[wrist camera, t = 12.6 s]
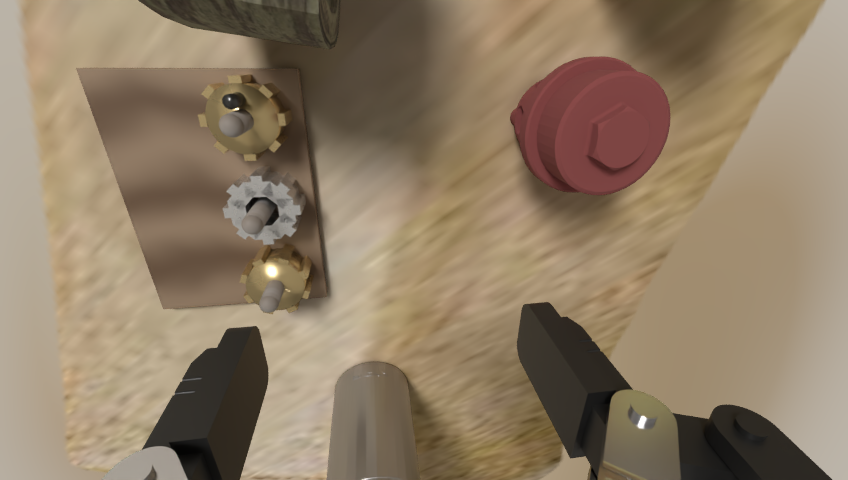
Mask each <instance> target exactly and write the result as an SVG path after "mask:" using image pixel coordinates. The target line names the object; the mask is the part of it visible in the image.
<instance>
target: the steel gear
mask: <svg viewBox="0 0 848 480" xmlns="http://www.w3.org/2000/svg"><path fill="white" fill-rule="evenodd" d="M295 180H296V179H295V178H294V177H293V176H291V175H290V174H289V173H288V172H287V174H286V175H285V176H283V175H282V174H280V173H279V172H271V171H270V166H268V167H258V168H257V169H256V170H255V171H254V172H253V173H252V174H251V175H250V176H249V177H247V176H246V175H244V174H243V175H242V176H241V177H240V178H239V179H237V180H236V181H235V182H234V183H233V184H232V185H231V187H230V188H229V189H228V190H227V191H226V192H227V193H229V194H230V195H232V196H231V197H230V198H229V200H228V201H227V202H228V203H227V204H226V205H225V206H224V207H223V212H224V216H225V218H231V219H232V223H233V225H234V226H235V227H237V228H238V229H239V230H238V231H237V233H236V234H238V235H239V236H241V237H242V238H244V239H246V238H247V237H248V236H250V237H251V238H253V239H254V240H263V244H264V245H268V244H275V242H276V240H277V239H281V238H282V237H283V236H284V235H285V234H286V235H288V236H289V237H291V236H292V234H293V233H294V232H295V231H296V230H297V227H298V225H299V222H300V220H301V217H300V216H299V215H301V214H302V211H303V209H304V207H305V204H306V200H305V194H299V190H298V187H297V186H296V185H294V184H293V183H294V181H295ZM255 197H267V198H269V199H270V200H271V201H273V202H274V203H275V204H277V205H278V211H279V213H272V214H271V216H270V218H269V219H268V221H267V223H266V224H265V226H264V228H263V229H262V231H261V232H259V233H258V234H254V235H252V234H248V233H246V232H245V231H244V230H243V229H242V226H241V222H242V220H243V218H244V217H245V216H246V214H247V213H248V212H249V210H250V209H251V208H252V206H253V205H254V204H255V203H256V199H255Z"/></svg>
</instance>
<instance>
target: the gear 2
mask: <svg viewBox="0 0 848 480" xmlns="http://www.w3.org/2000/svg"><path fill="white" fill-rule="evenodd" d="M293 250H294V246H292V245H289V244H285V245H284V247H283V248H274V249H271V247H270V246H269V245H266V246H264V247H262V248H260V250H259V251H258V253H257V255H256V257H255V259H250V261H249V263H248V264H247V266H246V268H245V270H244V271H243V273H242V275H241V279H240V283H244V284H246V292H245V294H244V296H243V297H244V298H245V300H246V301H247V302H248V303H251V302H255V303H256V304H258V305H259V302H260V299H261V297H262V295H263V292H264V290H265V288H266V285H267V283H268V282H269V281H271V280H279V281H281V282H282V283H283V284H284V287H285V289H284V292H283V295H282V297H281V300H280V303H279V306H278V308H277V309H276V310H284V309H286V310H287V311H288V312H289V313H290V312H293V311H295V310H297V309H298V305H299V302H300V300H301V298H305V299H308V296H309V293H310V290H311V286H312V281H313V277H314V275H310V274H309V272H310V268H311V264H312V262H311V260H310V258H309V257H308V255H307V256H305V257H302V256H300V255H299V254H298V253H296V252H294V251H293ZM263 312H264V311H263ZM273 312H274V311H273ZM273 312H271V313H269V314H273ZM265 313H266V312H265Z"/></svg>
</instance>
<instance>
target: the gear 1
mask: <svg viewBox="0 0 848 480" xmlns="http://www.w3.org/2000/svg"><path fill="white" fill-rule="evenodd" d="M228 81H229V83H231V84H226V85H225V84H224V83H223V82H222V83H215V84H209V85H208V86H207V87H206V88H205V90H204V91H203V92H202V95H203V96H204V97H205V98H207V99H208V101H207V104H206V109H205V112H204V113H201V114H198V118H199V122H200V126H201V127H209V130H210V131H211V133H212V135H213V136H214V137H215V139H216V140H217V142H216V143H215V145H214V147H216V148H217V149H218V150H219V151H221V152H222V153H223V154H225V153H226V152H228V151H229V150H231V151H234V152H236V153H240V154H244V160H245V161H257V160H258V159H259V158H260V157H261V156H262V155H263V154H264V153H265V150H266V149H267V148H269V149H270V150H271V151H272V152H275V151H276V150H277V149H278V148H279V147H280V146H281V145H282V144H283V143H284V142H285V140H286V139H287V138H288V137H287V136H286V135H284V134H282V133H283V131H284V129H285V126H286V125H287V124H289V123H290V122H291V121H292V120H293V119H292V112H291V109H284V107H283V105H282V103H281V101H280V99H279V98H278V97H277V95H278V94H279V93H280V91H281V90H280V89H278V88H277V87H276V86H275V85H274V84H273V83H272V82H271V83H267V84H263V85H262V84H259V83H256V82H252V81H253V79H252V74H238V75H229V76H228ZM238 109H243V110H246V111H248V112H249V113H250V114H251V115H252V117H253V119H254V125H253V127H252V128H251V129H250V130H248V131H247V132H245V133H244V134H242V135H240V136H238V137H228V136H226V135H225V134H223V133H222V132H221V130H220V128H219V120H220V118H221V117H222V116H223V115H225V114H228V113H230V112H233V111H235V110H238Z"/></svg>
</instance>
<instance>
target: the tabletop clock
mask: <svg viewBox="0 0 848 480" xmlns="http://www.w3.org/2000/svg"><path fill="white" fill-rule="evenodd" d="M138 1H140V2H141V3H143V4H144V5H146V6H147V7H149V8H150V9H151V10H153V11H155V12H156V13H158V14H159V15H161V16H163V17H165V18H168V19H170V20H173V21H175V22H178V23H181V24H183V25H186V26H188V27H191V28H196V29H203V30H209V31H216V32H222V33H229V34H235V35H242V36H248V37H255V38H261V39H267V40H274V41H280V42H287V43H293V44H300V45H306V46H313V47H319V48H326V49H331V48H333V47H334V46H335V44H336V41H337V36H338V27H339V10H340V0H138Z"/></svg>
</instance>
